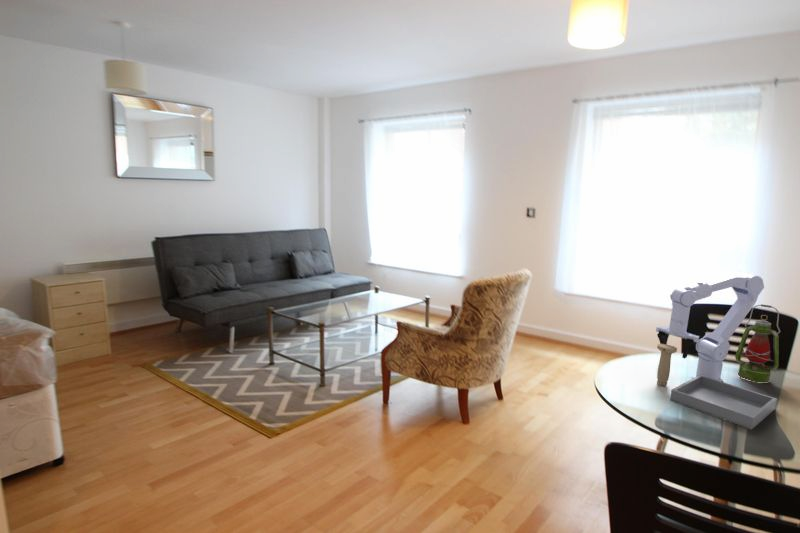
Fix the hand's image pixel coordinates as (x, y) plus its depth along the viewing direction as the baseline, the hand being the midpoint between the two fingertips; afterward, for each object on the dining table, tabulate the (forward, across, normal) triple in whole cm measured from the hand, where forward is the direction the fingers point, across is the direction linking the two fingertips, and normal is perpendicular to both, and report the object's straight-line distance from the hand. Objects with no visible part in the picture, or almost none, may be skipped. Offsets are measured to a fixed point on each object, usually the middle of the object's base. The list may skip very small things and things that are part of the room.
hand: (673, 354), depth 183 cm
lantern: (+10, +18, +32) cm, 38 cm away
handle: (+11, 0, -7) cm, 13 cm away
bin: (+10, +20, -7) cm, 24 cm away
